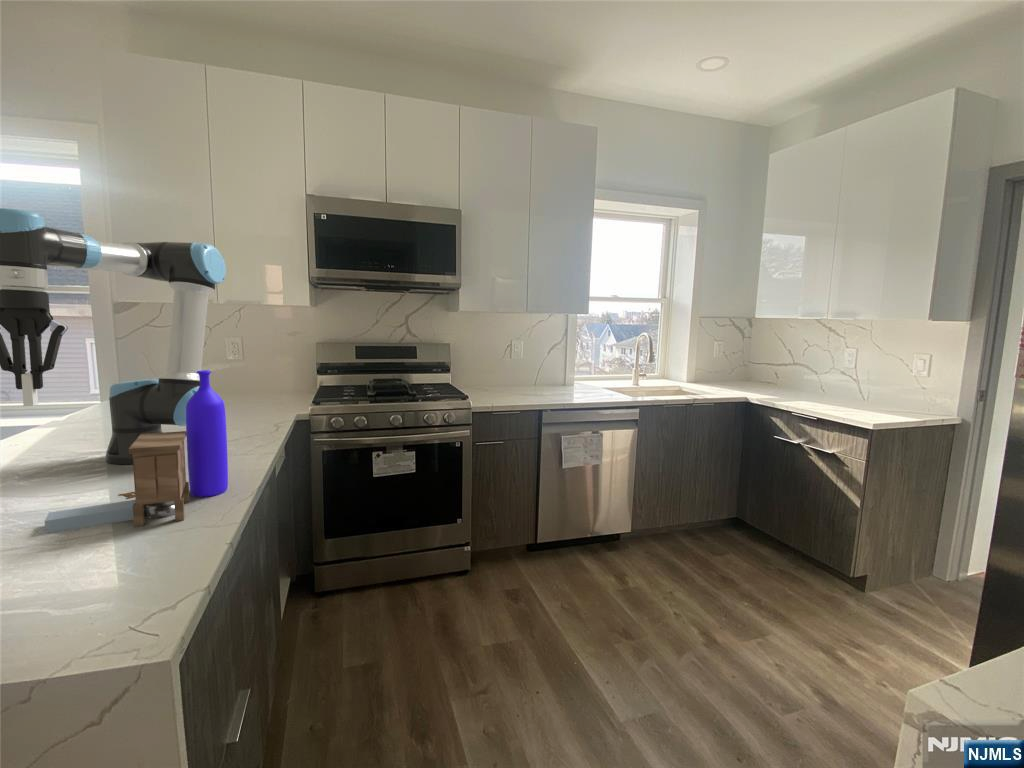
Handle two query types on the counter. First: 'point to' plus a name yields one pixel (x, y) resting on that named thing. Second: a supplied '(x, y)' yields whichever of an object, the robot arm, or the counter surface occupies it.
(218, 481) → the bottle
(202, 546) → the counter surface
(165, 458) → the cabinet
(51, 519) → the batten
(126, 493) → the saw handle
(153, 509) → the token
